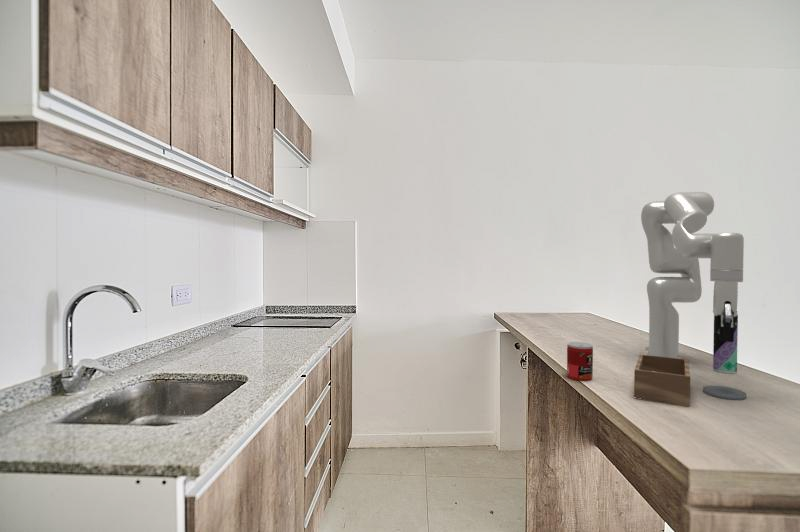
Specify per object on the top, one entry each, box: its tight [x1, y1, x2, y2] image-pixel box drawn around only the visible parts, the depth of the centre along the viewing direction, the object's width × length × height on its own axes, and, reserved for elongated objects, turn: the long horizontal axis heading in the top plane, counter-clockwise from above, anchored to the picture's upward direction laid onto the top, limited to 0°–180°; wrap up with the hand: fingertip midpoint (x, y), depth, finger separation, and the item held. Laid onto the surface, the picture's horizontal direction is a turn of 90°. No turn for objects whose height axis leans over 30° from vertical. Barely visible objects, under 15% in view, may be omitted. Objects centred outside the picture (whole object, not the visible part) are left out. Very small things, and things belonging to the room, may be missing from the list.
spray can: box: [712, 303, 739, 375], centre depth 125 cm, size 6×6×20 cm
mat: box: [702, 385, 747, 401], centre depth 125 cm, size 10×10×1 cm
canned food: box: [566, 341, 594, 382], centre depth 142 cm, size 8×8×11 cm
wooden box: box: [633, 354, 691, 408], centre depth 128 cm, size 22×13×8 cm, turn 148°
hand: (725, 338), depth 125 cm, fingers closed on spray can, 5 cm apart
